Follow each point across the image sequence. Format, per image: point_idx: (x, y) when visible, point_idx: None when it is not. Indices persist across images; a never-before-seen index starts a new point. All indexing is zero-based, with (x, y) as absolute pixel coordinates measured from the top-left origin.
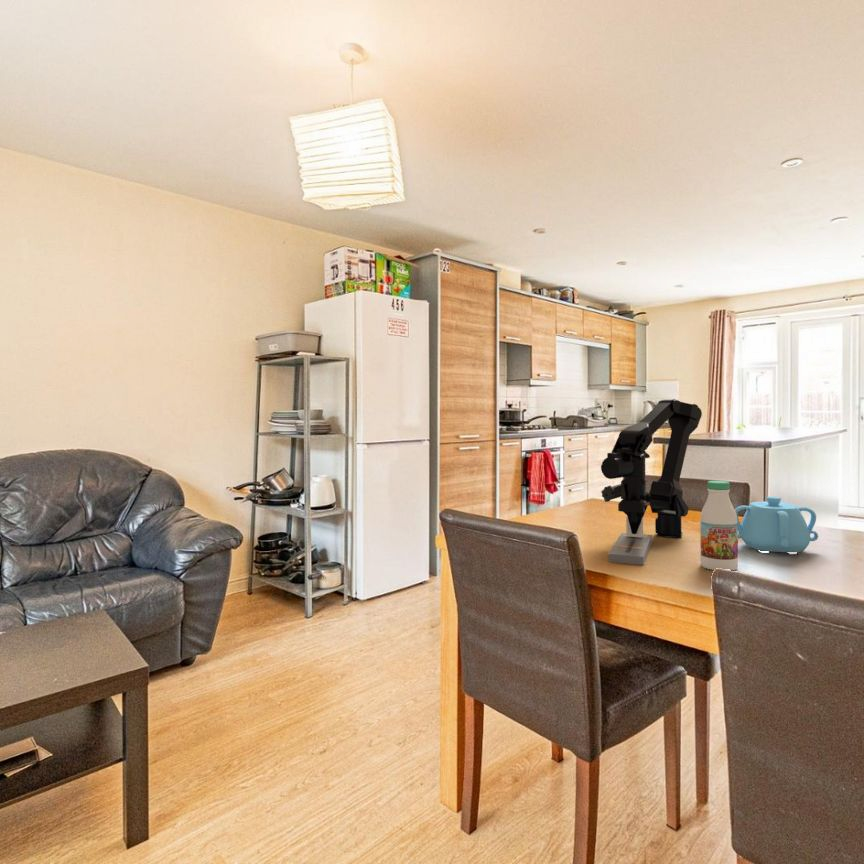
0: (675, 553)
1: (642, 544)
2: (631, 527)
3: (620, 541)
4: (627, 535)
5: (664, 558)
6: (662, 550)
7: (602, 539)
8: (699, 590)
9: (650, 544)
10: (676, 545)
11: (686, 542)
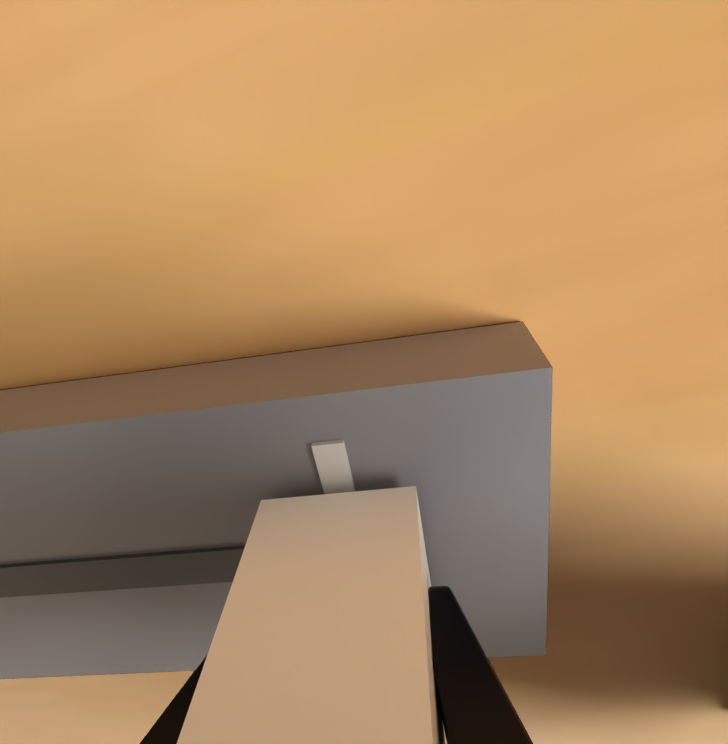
0: None
1: (76, 646)
2: (187, 696)
3: (18, 476)
4: (260, 521)
5: (74, 685)
6: None
7: (435, 36)
8: None
9: None
10: None
11: (604, 735)
